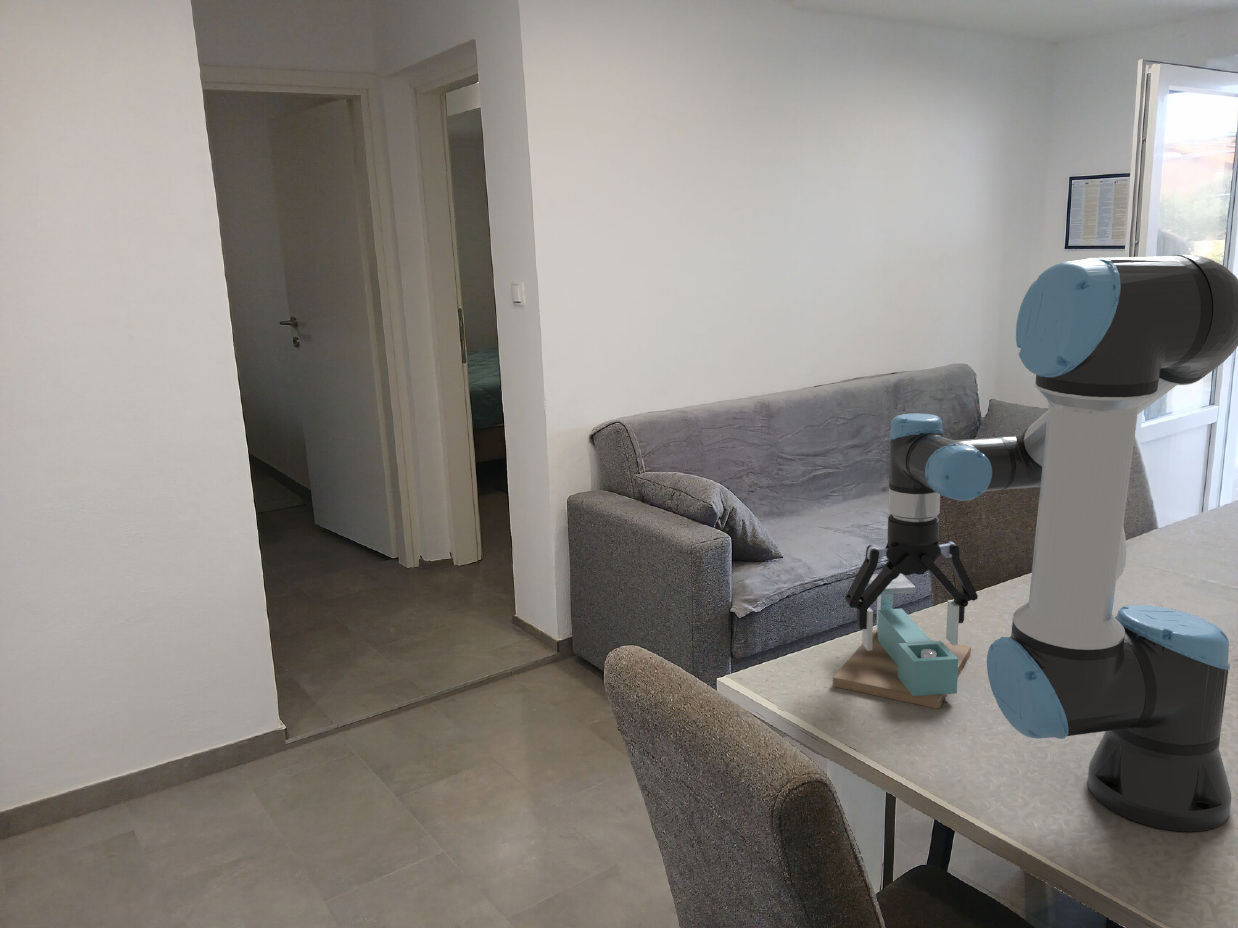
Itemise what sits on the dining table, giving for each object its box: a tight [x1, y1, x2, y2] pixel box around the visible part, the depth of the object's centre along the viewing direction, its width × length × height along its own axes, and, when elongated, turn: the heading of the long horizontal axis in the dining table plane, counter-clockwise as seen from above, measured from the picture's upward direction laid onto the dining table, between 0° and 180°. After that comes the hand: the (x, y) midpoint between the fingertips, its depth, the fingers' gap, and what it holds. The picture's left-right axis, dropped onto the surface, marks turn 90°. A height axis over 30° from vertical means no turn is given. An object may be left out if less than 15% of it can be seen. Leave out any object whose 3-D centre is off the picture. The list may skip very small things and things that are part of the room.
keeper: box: [868, 573, 917, 633], centre depth 160 cm, size 7×6×12 cm
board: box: [832, 629, 972, 710], centre depth 153 cm, size 21×16×2 cm
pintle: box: [921, 649, 937, 658], centre depth 143 cm, size 2×2×7 cm
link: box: [878, 608, 959, 696], centre depth 150 cm, size 20×7×6 cm, turn 3°
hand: (909, 644), depth 151 cm, fingers open, 13 cm apart
